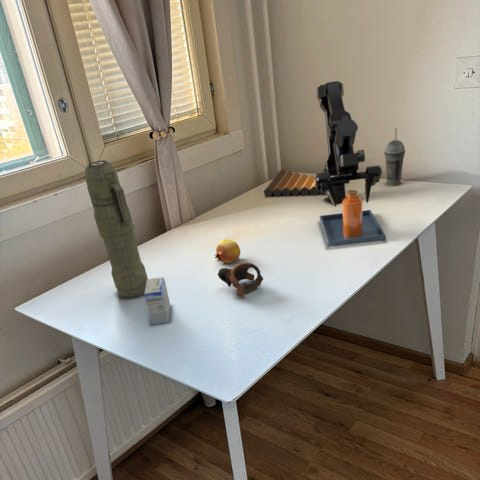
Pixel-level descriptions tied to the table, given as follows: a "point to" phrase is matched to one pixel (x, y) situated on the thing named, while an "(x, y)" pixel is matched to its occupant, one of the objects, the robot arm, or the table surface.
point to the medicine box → (157, 300)
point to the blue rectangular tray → (335, 229)
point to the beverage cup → (394, 161)
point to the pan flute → (292, 185)
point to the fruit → (227, 251)
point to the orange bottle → (352, 215)
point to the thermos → (116, 228)
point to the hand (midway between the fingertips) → (351, 204)
